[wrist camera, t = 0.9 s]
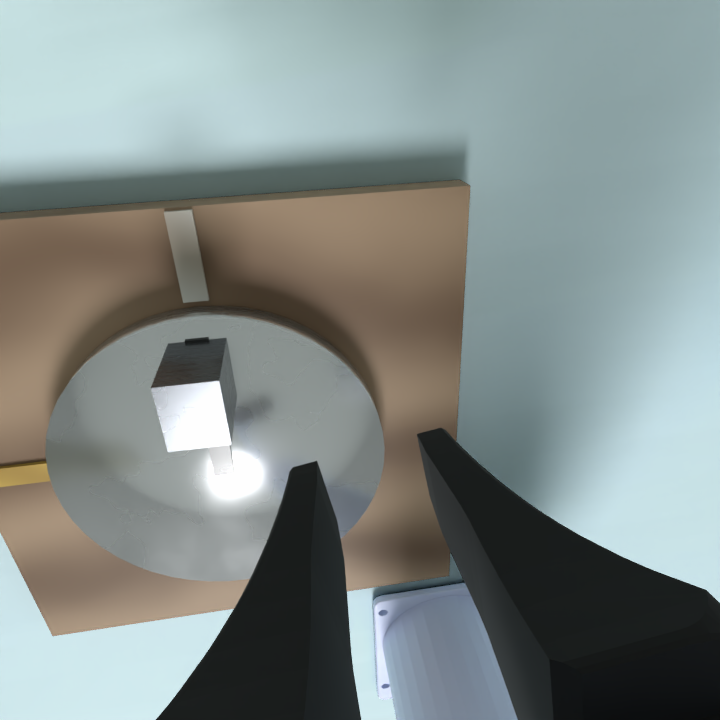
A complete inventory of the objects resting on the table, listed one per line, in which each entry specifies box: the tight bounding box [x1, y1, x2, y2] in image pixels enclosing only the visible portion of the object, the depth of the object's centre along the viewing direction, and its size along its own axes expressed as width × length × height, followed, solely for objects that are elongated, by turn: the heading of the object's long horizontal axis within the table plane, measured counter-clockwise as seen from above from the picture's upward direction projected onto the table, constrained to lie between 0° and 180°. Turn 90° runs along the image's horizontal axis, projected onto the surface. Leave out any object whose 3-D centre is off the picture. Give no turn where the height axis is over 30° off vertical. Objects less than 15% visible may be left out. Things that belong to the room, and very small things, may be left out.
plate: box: [0, 180, 470, 636], centre depth 23 cm, size 20×20×1 cm
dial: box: [45, 305, 385, 581], centre depth 21 cm, size 13×13×4 cm
